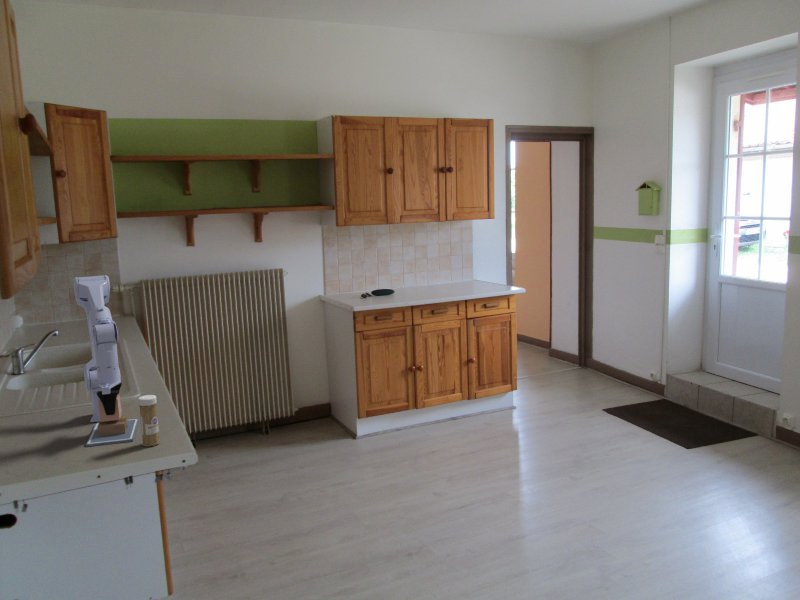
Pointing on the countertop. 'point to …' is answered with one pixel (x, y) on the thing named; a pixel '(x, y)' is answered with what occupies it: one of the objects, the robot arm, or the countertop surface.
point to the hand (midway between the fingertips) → (111, 411)
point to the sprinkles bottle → (149, 420)
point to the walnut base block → (113, 427)
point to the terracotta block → (110, 417)
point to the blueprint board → (112, 439)
